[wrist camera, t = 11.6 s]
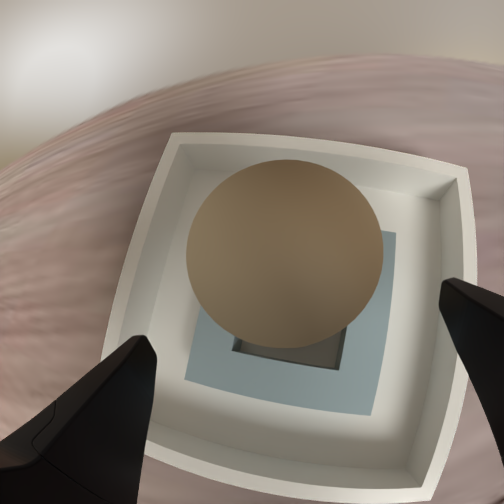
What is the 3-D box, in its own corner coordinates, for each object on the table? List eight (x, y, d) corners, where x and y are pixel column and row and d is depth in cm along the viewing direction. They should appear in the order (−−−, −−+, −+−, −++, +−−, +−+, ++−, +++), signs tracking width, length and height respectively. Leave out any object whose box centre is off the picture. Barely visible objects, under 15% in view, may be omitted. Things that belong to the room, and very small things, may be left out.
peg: (286, 361, 16) (253, 389, 5) (249, 305, 18) (156, 226, 6) (343, 321, 16) (421, 264, 5) (304, 267, 18) (302, 133, 7)
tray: (409, 476, 13) (430, 500, 9) (125, 417, 17) (91, 426, 13) (445, 196, 18) (467, 168, 15) (190, 163, 23) (172, 132, 19)
